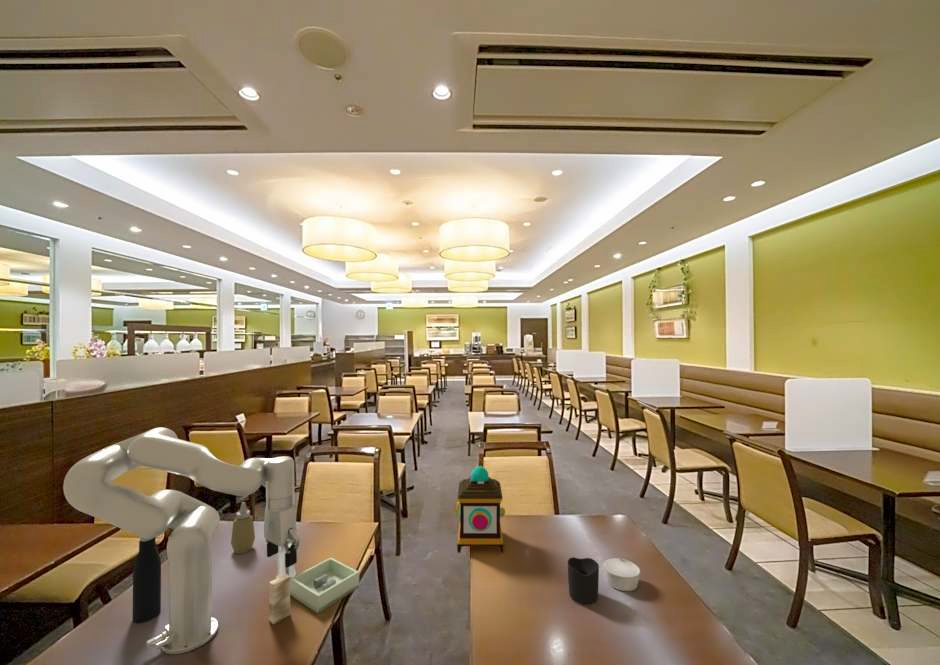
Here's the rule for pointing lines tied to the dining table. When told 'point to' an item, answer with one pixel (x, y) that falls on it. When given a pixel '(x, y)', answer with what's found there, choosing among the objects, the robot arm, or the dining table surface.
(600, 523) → the dining table surface
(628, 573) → the ramekin
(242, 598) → the dining table surface
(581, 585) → the pen holder
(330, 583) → the wick clip
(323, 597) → the pale green prong tray
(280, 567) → the metal tumbler
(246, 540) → the squeeze bottle
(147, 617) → the wine bottle
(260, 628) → the dining table surface
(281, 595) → the upright wooden plank
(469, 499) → the decorative lantern
